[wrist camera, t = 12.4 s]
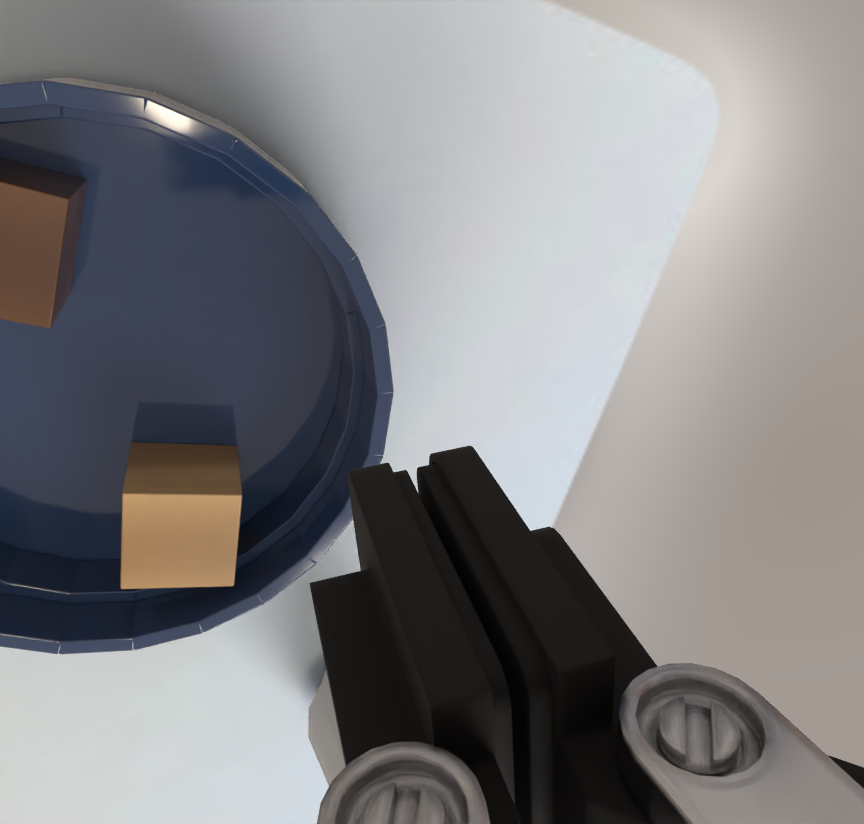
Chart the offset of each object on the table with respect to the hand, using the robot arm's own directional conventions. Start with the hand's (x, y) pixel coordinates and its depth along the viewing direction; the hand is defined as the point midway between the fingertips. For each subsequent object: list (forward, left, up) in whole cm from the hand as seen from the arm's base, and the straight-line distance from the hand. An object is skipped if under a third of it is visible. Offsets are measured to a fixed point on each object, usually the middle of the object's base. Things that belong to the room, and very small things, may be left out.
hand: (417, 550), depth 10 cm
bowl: (+4, -7, -20) cm, 22 cm away
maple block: (+9, -6, -20) cm, 22 cm away
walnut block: (-2, -8, -20) cm, 22 cm away
